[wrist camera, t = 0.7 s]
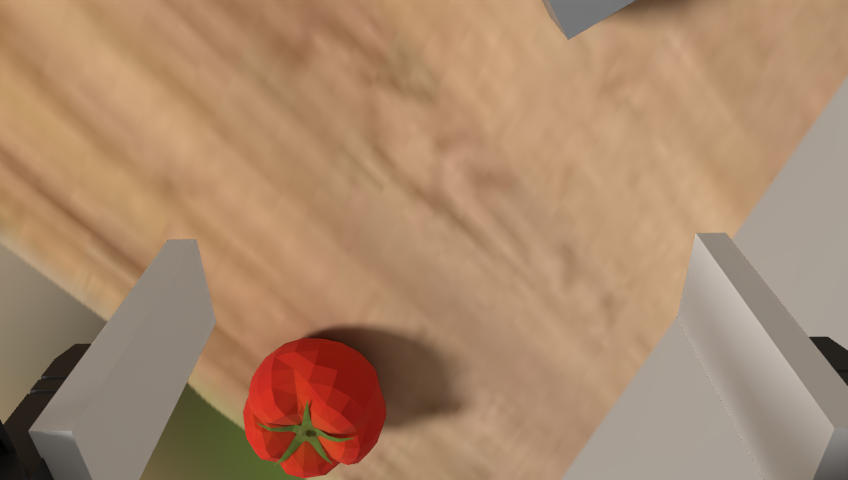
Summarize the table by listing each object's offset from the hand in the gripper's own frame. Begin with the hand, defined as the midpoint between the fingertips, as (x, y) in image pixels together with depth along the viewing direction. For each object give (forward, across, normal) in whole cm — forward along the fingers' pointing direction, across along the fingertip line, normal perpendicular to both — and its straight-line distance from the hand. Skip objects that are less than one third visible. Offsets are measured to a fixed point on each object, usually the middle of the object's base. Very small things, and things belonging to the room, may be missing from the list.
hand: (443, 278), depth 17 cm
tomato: (+25, -10, -26) cm, 37 cm away
